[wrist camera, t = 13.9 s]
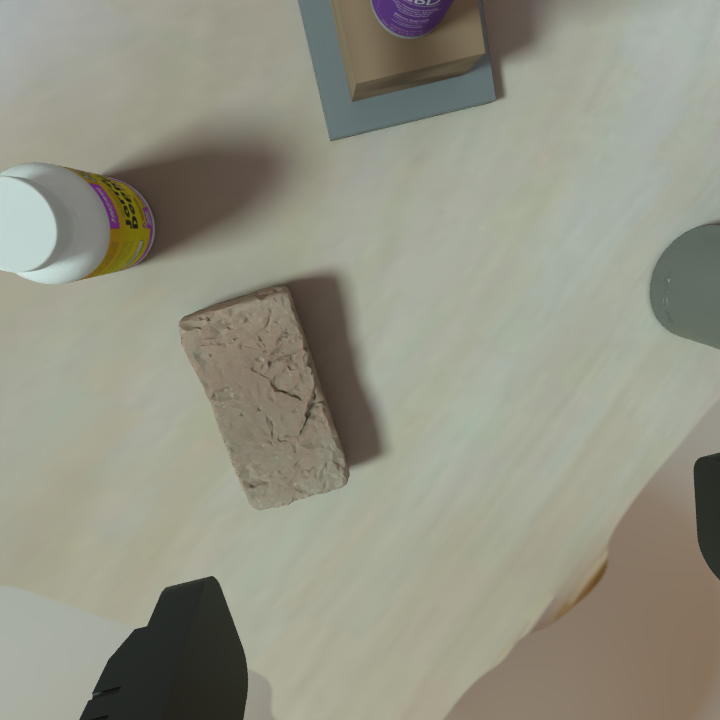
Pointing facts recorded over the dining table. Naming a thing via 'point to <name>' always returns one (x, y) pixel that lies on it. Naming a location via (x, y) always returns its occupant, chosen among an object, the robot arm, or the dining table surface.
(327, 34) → the slate board
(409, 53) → the walnut plinth
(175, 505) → the dining table surface
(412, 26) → the container
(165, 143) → the dining table surface
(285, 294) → the brick
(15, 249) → the supplement bottle
